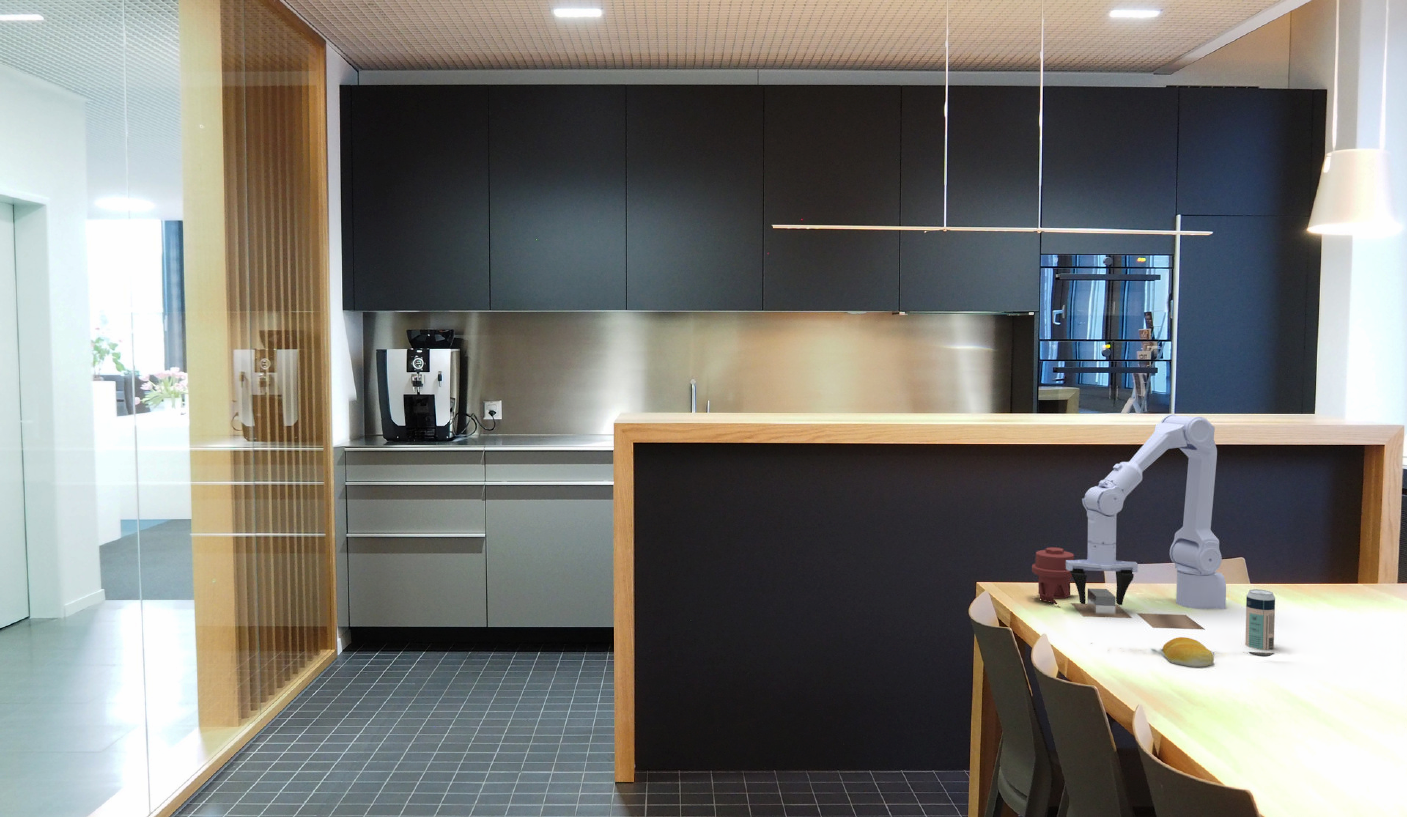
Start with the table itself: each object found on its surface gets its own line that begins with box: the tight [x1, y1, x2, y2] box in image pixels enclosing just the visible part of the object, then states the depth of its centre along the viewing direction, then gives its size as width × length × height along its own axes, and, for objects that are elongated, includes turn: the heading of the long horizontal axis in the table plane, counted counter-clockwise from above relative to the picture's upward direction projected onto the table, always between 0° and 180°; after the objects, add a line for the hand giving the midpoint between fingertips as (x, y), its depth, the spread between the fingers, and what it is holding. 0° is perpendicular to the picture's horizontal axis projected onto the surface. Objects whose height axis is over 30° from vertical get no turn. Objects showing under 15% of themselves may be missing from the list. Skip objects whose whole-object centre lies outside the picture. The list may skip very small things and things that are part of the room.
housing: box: [1086, 587, 1117, 615], centre depth 205 cm, size 4×7×4 cm, turn 172°
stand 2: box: [1136, 612, 1206, 630], centre depth 197 cm, size 10×11×2 cm
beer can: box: [1244, 588, 1276, 658], centre depth 179 cm, size 5×5×12 cm
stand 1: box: [1070, 602, 1133, 619], centre depth 206 cm, size 10×11×2 cm
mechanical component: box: [1031, 546, 1075, 605], centre depth 219 cm, size 12×10×10 cm
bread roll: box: [1162, 636, 1215, 668], centre depth 176 cm, size 8×9×4 cm
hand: (1100, 603), depth 205 cm, fingers open, 7 cm apart
